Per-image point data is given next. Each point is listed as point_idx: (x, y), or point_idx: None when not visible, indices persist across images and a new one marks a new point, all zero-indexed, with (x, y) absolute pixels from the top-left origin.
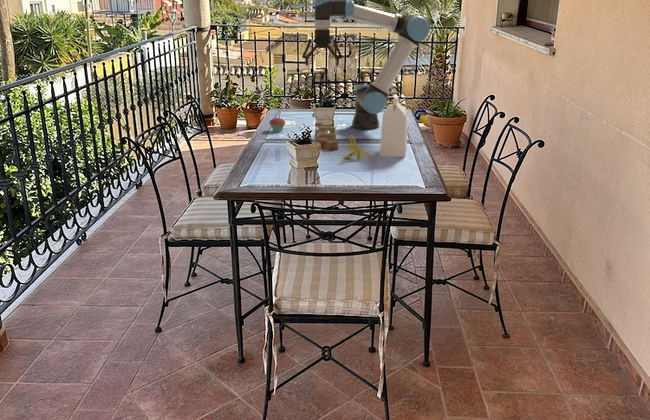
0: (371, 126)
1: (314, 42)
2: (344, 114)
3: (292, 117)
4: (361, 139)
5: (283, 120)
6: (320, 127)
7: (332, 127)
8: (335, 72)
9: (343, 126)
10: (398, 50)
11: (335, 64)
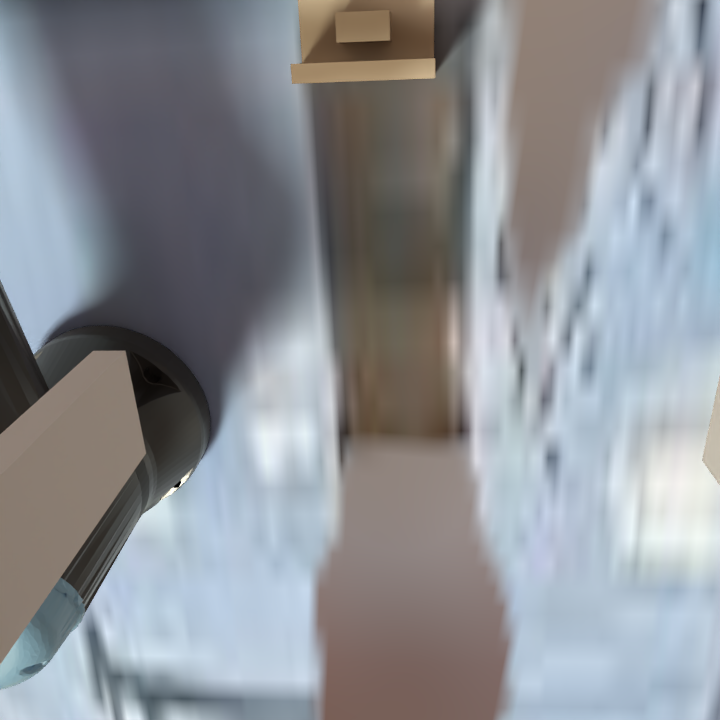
0: (55, 339)
1: None
2: (288, 705)
3: (622, 644)
4: None
5: None
6: (428, 59)
7: (317, 63)
8: (106, 355)
9: (268, 412)
10: None
11: (7, 452)
